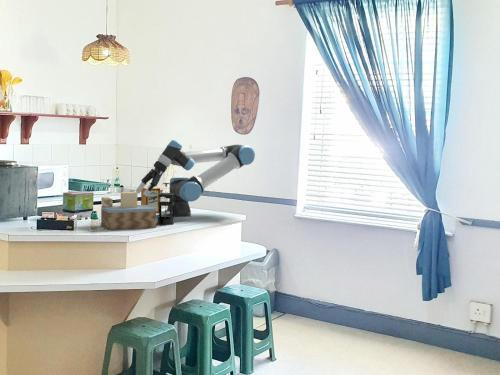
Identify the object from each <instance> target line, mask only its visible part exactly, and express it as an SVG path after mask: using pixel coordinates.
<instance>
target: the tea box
mask: <svg viewBox="0 0 500 375" xmlns="http://www.w3.org/2000/svg"><path fill="white" fill-rule="evenodd" d="M94 193H95V192H92V191H84V190H81V191H80V190H79V191H78V190H77V191H68V192H62V215H63V216H68V217H71V216H74V215H77V219H79V220H80V219H85V218H92V217H91V213H92V212H93V213H94ZM62 215H61V216H62ZM77 219H76V220H77Z"/></svg>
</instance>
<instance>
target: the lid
mask: <svg viewBox="0 0 500 375" xmlns="http://www.w3.org/2000/svg"><path fill="white" fill-rule="evenodd" d="M138 194H139V193H137V192H136V191H123V192H121V191H120V205H112V207H105V206H103V205H101V206H100V207H101V209H102V210H104V211H106V212H108V213H120V212H146V211H156V208H154V207H152V206H149V205H141V204H138Z"/></svg>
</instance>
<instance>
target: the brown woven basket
mask: <svg viewBox="0 0 500 375" xmlns="http://www.w3.org/2000/svg"><path fill="white" fill-rule="evenodd" d="M100 221H101V222H100V226H101V227H102V228H104V227H105V229H106V230H108V231H115V230H135V229H154V228H157V213H156V211H146V212H120V213H108V212H106V211H104V210H102V209H101V212H100Z"/></svg>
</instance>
